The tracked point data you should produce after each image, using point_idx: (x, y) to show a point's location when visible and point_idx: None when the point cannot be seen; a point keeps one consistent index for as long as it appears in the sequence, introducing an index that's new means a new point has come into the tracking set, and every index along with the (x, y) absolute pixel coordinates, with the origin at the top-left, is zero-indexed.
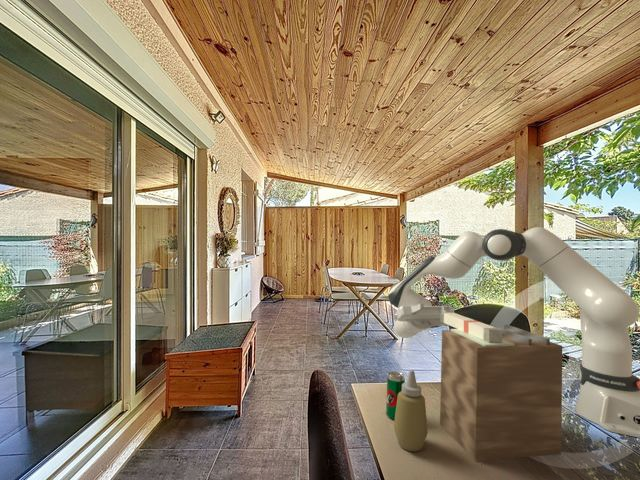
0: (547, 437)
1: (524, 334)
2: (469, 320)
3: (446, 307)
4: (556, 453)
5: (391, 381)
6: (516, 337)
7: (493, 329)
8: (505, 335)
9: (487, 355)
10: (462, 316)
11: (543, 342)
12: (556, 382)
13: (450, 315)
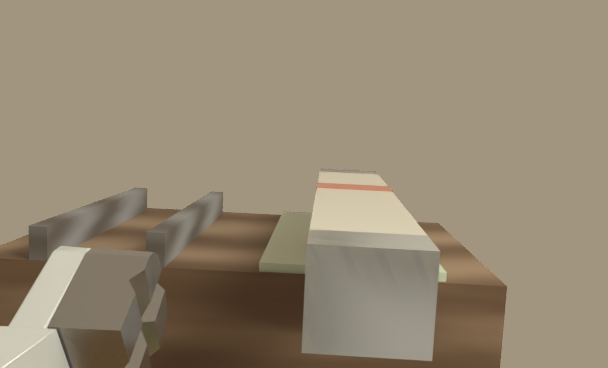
0: None
1: (109, 218)
2: (357, 189)
3: (163, 302)
4: None
5: None
6: (212, 211)
7: (351, 170)
8: (197, 232)
9: None
10: (329, 204)
11: (142, 208)
12: None
13: (410, 215)
